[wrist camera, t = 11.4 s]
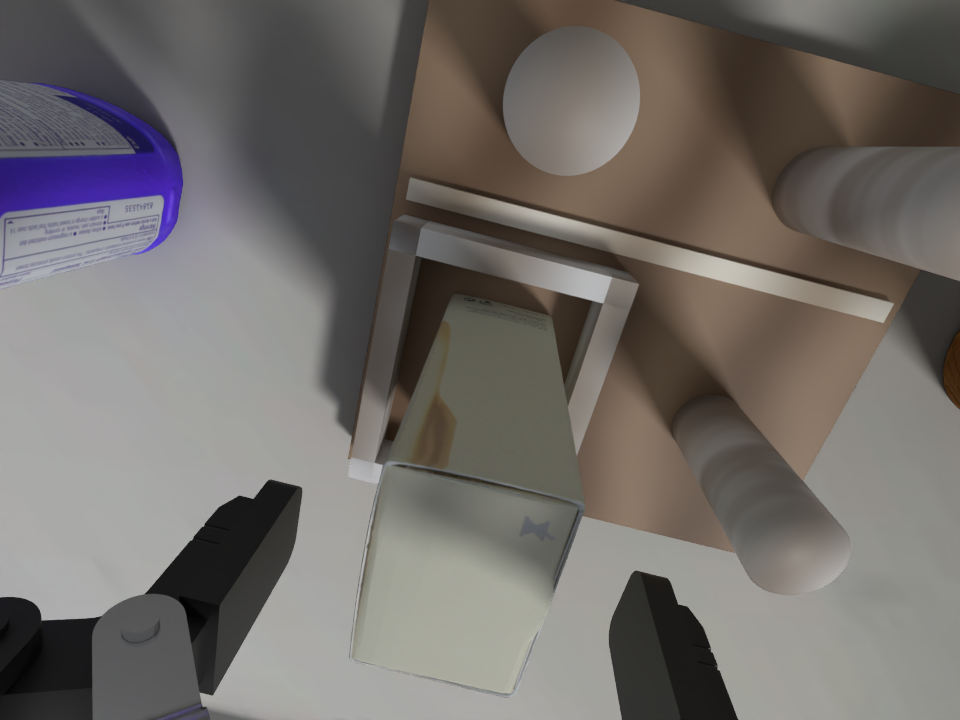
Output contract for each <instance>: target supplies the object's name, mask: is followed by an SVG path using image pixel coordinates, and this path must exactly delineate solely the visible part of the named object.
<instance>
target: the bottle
mask: <svg viewBox="0 0 960 720" xmlns="http://www.w3.org/2000/svg"><path fill="white" fill-rule="evenodd" d="M182 187H183V177H182V169H181V165H180V160H179V156H178V154H177V153H176V151H175V150H174V148H173V147H172V146H171V144H170V143H169V142H168V141H167V140H166V139H165V138H164V137H163V136H162V135H161V134H160V133H159V132H158V131H156V130H155V129H154V128H153V127H151V126H150V125H148V124H147V123H145V122H144V121H142V120H141V119H139V118H138V117H136V116H134V115H132V114H130V113H129V112H127V111H125V110H123V109H121V108H119V107H117V106H115V105H113V104H110V103H108V102H106V101H103V100H101V99H98V98H95V97H92V96H90V95H87V94H84V93H80V92H77V91H74V90H70V89H67V88H62V87H58V86H54V85H48V84H43V83H24V82H17V81H10V80H0V289H4V288H8V287H11V286H15V285H19V284H23V283H27V282H31V281H34V280H38V279H42V278H45V277H49V276H53V275H57V274H60V273H64V272H68V271H72V270H75V269H79V268H83V267H87V266H91V265H95V264H98V263H102V262H106V261H110V260H113V259H117V258H121V257H125V256H128V255H134V254H140V253H144V252H146V251H149V250H151V249H153V248H154V247H156V246H158V245H159V244H160V243H162V242H163V241H164V240H165V239H166V238H167V237H168V235H169V234H170V233H171V231H172V229H173V228H174V226H175V224H176V222H177V218H178V210H179V205H180V199H181V193H182Z"/></svg>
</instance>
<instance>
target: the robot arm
mask: <svg viewBox="0 0 960 720" xmlns="http://www.w3.org/2000/svg"><path fill="white" fill-rule="evenodd" d="M301 498H302V488H301V487H299V486H295V485H291V484H287V483H283V482H279V481H275V480H268V481H267V482H266V484H265V485H264V486H263V487H262V489H261V490H260V491H259V493H258V494H257V495H256V496H255V498H254V499H251V498H247V497H243V496H238V497H236V498H234V499H233V500H231V501H229V502H227V503H226V504H224V505H222V506H220V507H219V508H218V509H217V510H216V511H215V512H214V514H213V515H212V516H211V517H210V518H209V519H208V521H207V522H206V523H205V526H204V527H202V528H201V529H200V530H199V531H198V532H197V534H196V535H195V536H194V538H193V540H192V541H190V542H189V543H188V544H187V545H186V547H185V548H184V549H183V550H182V551H181V552H180V554H179V555H178V556H177V557H176V558H175V560H174V561H173V562H172V563H171V564H170V565H169V567H168V568H167V569H166V570H165V571H164V572H163V574H162V575H161V576H160V577H159V578H158V580H157V581H156V582H155V583H154V584H153V585H152V587H151V588H150V589H149V590H148V591H147V592H146V593H145V594H144V595H139V596H135V597H132V598H129V599H127V600H124V601H122V602H120V603H118V604H117V605H115V606H113V607H112V608H111V609H109V610H108V611H107V612H106V613H105V614H104V615H103V616H101V617H96V618H87V619H67V620H45V621H41V613H40V610H39V609H38V607H37V606H36V605H35V604H34V603H33V602H31V601H29V600H26V599H22V598H16V597H2V598H0V720H210V716H209V713H208V709H207V708H206V707H202V703H201V699H200V693H205V694H209V695H213V694H214V692H215V691H216V689H217V687H218V685H219V684H220V682H221V680H222V678H223V677H224V675H225V673H226V671H227V669H228V668H229V666H230V664H231V662H232V661H233V659H234V657H235V655H236V654H237V652H238V650H239V648H240V647H241V645H242V643H243V641H244V640H245V638H246V636H247V634H248V632H249V631H250V629H251V627H252V625H253V624H254V622H255V620H256V618H257V617H258V615H259V613H260V611H261V610H262V608H263V606H264V604H265V603H266V601H267V599H268V597H269V596H270V594H271V592H272V590H273V588H274V587H275V585H276V583H277V581H278V580H279V578H280V576H281V574H282V573H283V571H284V569H285V567H286V565H287V563H288V561H289V559H290V557H291V554H292V551H293V548H294V544H295V540H296V534H297V527H298V520H299V512H300V505H301ZM609 647H610V653H611V659H612V664H613V670H614V676H615V682H616V687H617V693H618V699H619V705H620V710H621V716H622V720H738V719H737V716H736V713H735V711H734V708H733V705H732V703H731V700H730V697H729V695H728V692H727V689H726V687H725V684H724V681H723V679H722V676H721V673H720V671H719V670H717V667H718V666H717V663H716V660H715V658H714V655H713V653H711V647H710V644H709V642H708V639H707V636H706V634H705V631H704V628H703V627H702V625H701V624H700V623H699V621H698V620H697V619H696V617H695V616H694V615H693V613H692V612H691V611H690V609H689V608H688V607H686V606H682V605H678V603H677V600H676V597H675V594H674V591H673V588H672V585H671V583H670V581H669V580H668V579H667V578H664V577H660V576H656V575H652V574H648V573H644V572H640V571H634V572H633V573H632V575H631V577H630V579H629V581H628V583H627V585H626V588H625V590H624V592H623V594H622V597H621V599H620V601H619V603H618V605H617V608H616V610H615V612H614V614H613V617H612V620H611V624H610V630H609ZM199 692H200V693H199Z"/></svg>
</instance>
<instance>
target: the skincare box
mask: <svg viewBox="0 0 960 720" xmlns="http://www.w3.org/2000/svg"><path fill="white" fill-rule="evenodd" d="M584 511H585V500H584V495H583V490H582V484H581V478H580V472H579V466H578V461H577V456H576V449H575V443H574V438H573V433H572V427H571V421H570V416H569V410H568V405H567V400H566V394H565V389H564V383H563V377H562V371H561V366H560V361H559V355H558V350H557V344H556V338H555V332H554V326H553V320H552V318H551V317H550V316H548V315H545V314H541V313H537V312H533V311H530V310H526V309H522V308H519V307H515V306H511V305H507V304H503V303H499V302H495V301H491V300H486V299H481V298H476V297H471V296H467V295H461V294H453V295H452V297H451V299H450V302H449V304H448V306H447V309H446V312H445V314H444V317H443V320H442V322H441V325H440V327H439V330H438V332H437V335H436V337H435V340H434V342H433V345H432V347H431V350H430V353H429V355H428V357H427V360H426V362H425V365H424V367H423V370H422V373H421V375H420V378H419V381H418V383H417V386H416V388H415V391H414V393H413V395H412V398H411V400H410V403H409V405H408V408H407V410H406V413H405V415H404V417H403V420H402V422H401V425H400V427H399V430H398V432H397V435H396V437H395V440H394V442H393V444H392V447H391V449H390V451H389V453H388V456H387V458H386V460H385V462H384V465H383V467H382V471H381V476H380V480H379V483H378V487H377V491H376V495H375V499H374V503H373V507H372V512H371V516H370V521H369V526H368V531H367V537H366V542H365V547H364V554H363V559H362V566H361V572H360V578H359V584H358V590H357V597H356V605H355V612H354V620H353V628H352V636H351V645H350V653H349V658H350V660H351V661H353V662H356V663H360V664H365V665H370V666H374V667H379V668H383V669H387V670H391V671H394V672H399V673H403V674H407V675H413V676H415V677H419V678H423V679H428V680H433V681H437V682H441V683H445V684H449V685H453V686H458V687H462V688H466V689H470V690H475V691H479V692H484V693H488V694H492V695H496V696H500V697H504V698H508V697H512V696H513V695H515V694H516V693H517V691H518V688H519V685H520V683H521V680H522V678H523V675H524V673H525V670H526V668H527V665H528V662H529V660H530V657H531V654H532V652H533V649H534V647H535V644H536V641H537V638H538V636H539V633H540V631H541V629H542V626H543V624H544V621H545V618H546V616H547V613H548V611H549V608H550V605H551V602H552V599H553V596H554V593H555V590H556V587H557V584H558V581H559V578H560V576H561V573H562V571H563V568H564V565H565V563H566V560H567V557H568V554H569V551H570V549H571V546H572V543H573V541H574V538H575V535H576V532H577V529H578V526H579V524H580V521H581V518H582V516H583V514H584Z"/></svg>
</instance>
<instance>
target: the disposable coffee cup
mask: <svg viewBox="0 0 960 720" xmlns="http://www.w3.org/2000/svg"><path fill="white" fill-rule="evenodd" d="M943 378H944V386H945V389H946V392H947V395H948V397H949V398H950V399H951V400H952V402H953V403H954V404H955V405H956V406H957V408H959V409H960V331H959V332H958V333H957V334H956V336H955V338H954V340H953V342H952V344H951V346H950V348H949V350H948V352H947V356H946V359H945V362H944V368H943Z"/></svg>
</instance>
